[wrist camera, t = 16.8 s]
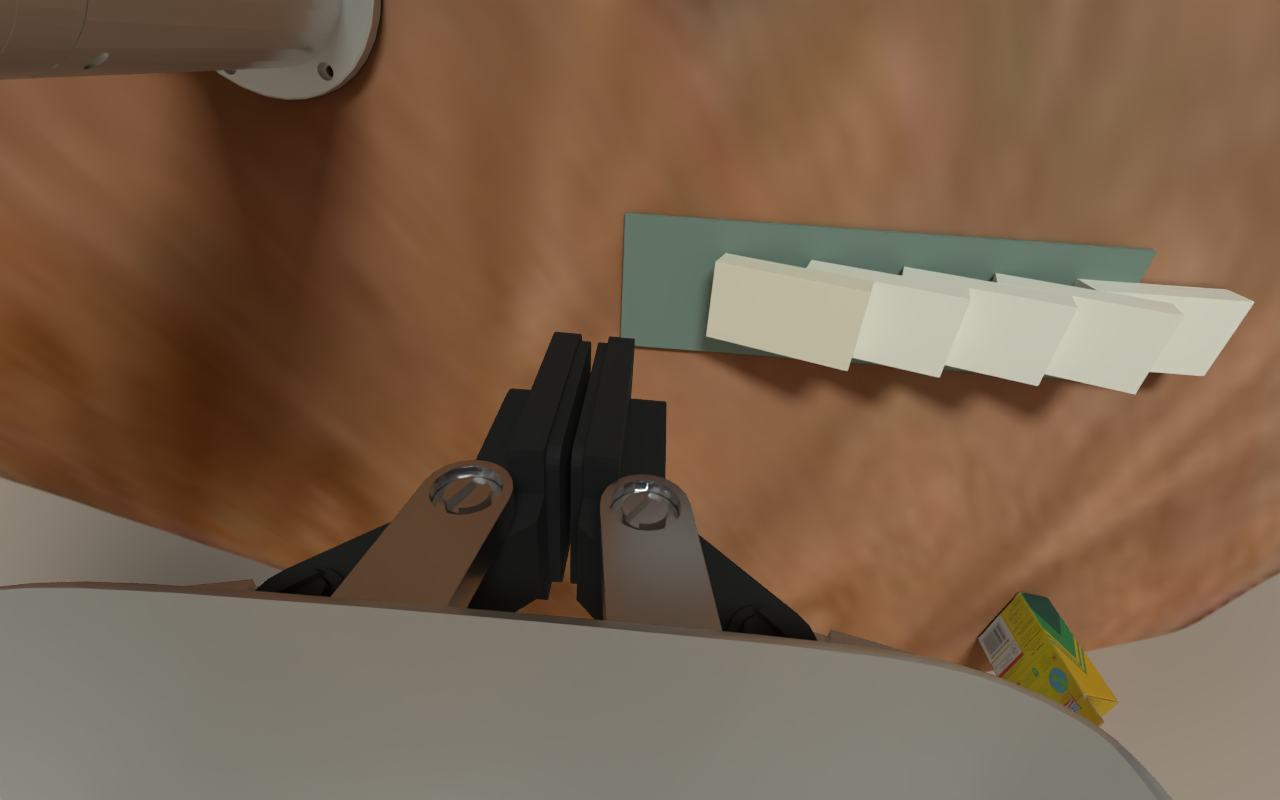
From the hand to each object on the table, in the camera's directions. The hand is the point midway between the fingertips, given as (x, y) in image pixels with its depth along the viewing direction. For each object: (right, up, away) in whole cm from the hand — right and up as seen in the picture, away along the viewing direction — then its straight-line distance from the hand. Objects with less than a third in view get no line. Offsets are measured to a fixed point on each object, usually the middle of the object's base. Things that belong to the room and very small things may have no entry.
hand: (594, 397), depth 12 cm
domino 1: (+6, +7, +24) cm, 25 cm away
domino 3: (+17, +6, +23) cm, 30 cm away
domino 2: (+11, +6, +24) cm, 27 cm away
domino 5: (+28, +5, +23) cm, 36 cm away
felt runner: (+16, +7, +25) cm, 30 cm away
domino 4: (+23, +5, +23) cm, 33 cm away
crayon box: (+36, -20, +40) cm, 57 cm away
